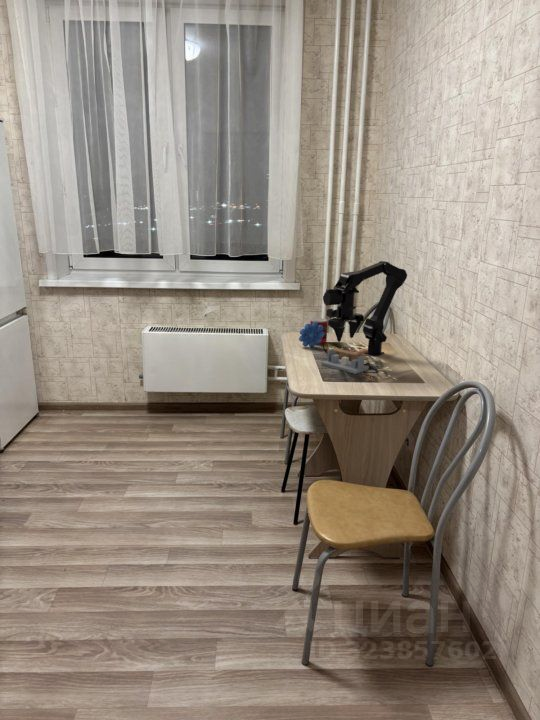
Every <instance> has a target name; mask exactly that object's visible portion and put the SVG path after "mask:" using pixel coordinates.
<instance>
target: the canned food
mask: <svg viewBox="0 0 540 720" xmlns="http://www.w3.org/2000/svg"><path fill="white" fill-rule="evenodd" d="M313 322H317V324H318V326H319V325H322V326H323V330H322V331H323V332H324V333H325V335H324V337H322V338H321V343H319V344H318V345H324V344H326V343H327V338H328V335H327V334H328V319H327V318H321V317H315V318H313V317H312V318H311V319H310V322H309V324H310V325H311V324H312V323H313ZM315 345H317V344H316V343H315Z"/></svg>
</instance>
